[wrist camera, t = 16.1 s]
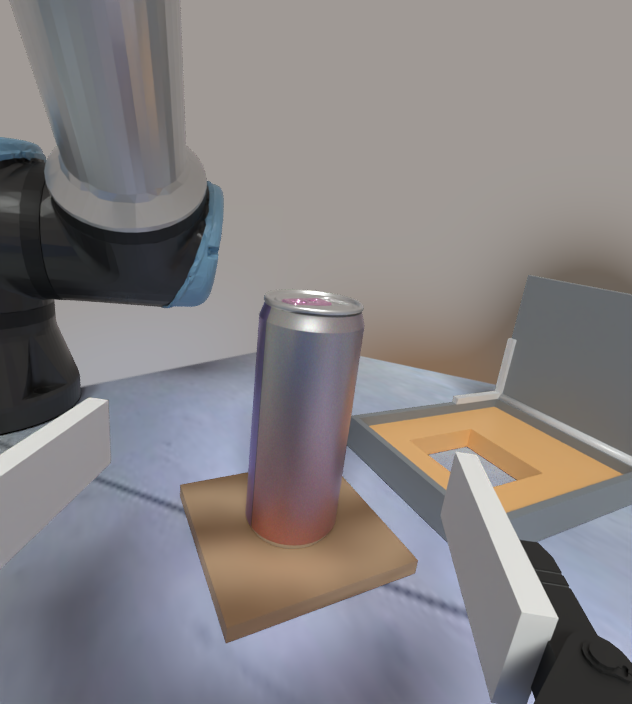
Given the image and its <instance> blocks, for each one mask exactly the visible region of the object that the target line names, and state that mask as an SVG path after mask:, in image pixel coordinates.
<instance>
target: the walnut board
mask: <svg viewBox="0 0 632 704" xmlns="http://www.w3.org/2000/svg"><path fill="white" fill-rule="evenodd" d="M247 484H248V473H242V474H237V475H231V476H226V477H220V478H215V479H210V480H204V481H199V482H193V483H188V484H183V485H180V498H181V501H182V504H183V507H184V510H185V514H186V517H187V520H188V523H189V527H190V530H191V533H192V536H193V539H194V543H195V546H196V549H197V552H198V555H199V559H200V562H201V565H202V568H203V571H204V575H205V578H206V581H207V584H208V587H209V591H210V594H211V597H212V600H213V603H214V607H215V610H216V613H217V616H218V620H219V623H220V626H221V629H222V632H223V636H224V639H225V642H226V643H228V642H231V641H234V640H236V639H239V638H242V637H245V636H247V635H250V634H253V633H255V632H258V631H261V630H263V629H266V628H269V627H271V626H274V625H277V624H280V623H282V622H285V621H288V620H290V619H293V618H296V617H298V616H301V615H304V614H306V613H309V612H312V611H315V610H317V609H320V608H323V607H325V606H328V605H331V604H333V603H336V602H339V601H342V600H344V599H347V598H350V597H352V596H355V595H358V594H360V593H363V592H366V591H368V590H371V589H374V588H377V587H379V586H382V585H385V584H387V583H390V582H393V581H395V580H398V579H401V578H403V577H406V576H409V575H412V574H414V573H415V571H416V567H417V563H418V560H417V559H416V558H415V556H414V555H413V554H412V553H411V552H410V551H409V550H408V549H407V548H406V547H405V545H404V544H403V543H402V542H401V541H400V540H399V539H398V538H397V537H396V535H395V534H394V533H393V532H392V531H391V530H390V529H389V528H388V527H387V525H386V524H385V523H384V522H383V521H382V520H381V519H380V518H379V517H378V515H377V514H376V513H375V512H374V511H373V510H372V509H371V508H370V507H369V505H368V504H367V503H366V502H365V501H364V500H363V499H362V498H361V497H360V495H359V494H358V493H357V492H356V491H355V490H354V489H353V488H352V487H351V485H350V484H349V483H348V482H347V481H346V480H345V479H344V478H343V477H342V480H341V487H340V494H339V500H338V507H337V514H336V520H335V524H334V526H333V528H332V529H331V531H330V532H329V533H328V534H327V535H326V536H325V537H324V538H323V539H322V540H320V541H319V542H317V543H315V544H313V545H311V546H308V547H304V548H298V549H287V548H281V547H277V546H274V545H271V544H269V543H267V542H265V541H264V540H262V539H261V538H260V537H259V536H258V535H257V534H256V533H255V532H254V531H253V529H252V528H251V526H250V524H249V523H248V521H247V518H246V498H247Z"/></svg>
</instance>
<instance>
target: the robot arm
mask: <svg viewBox="0 0 632 704" xmlns="http://www.w3.org/2000/svg"><path fill="white" fill-rule="evenodd" d="M9 1H10V4H11V8H12V11H13V14H14V17H15V20H16V23H17V26H18V29H19V32H20V35H21V38H22V41H23V44H24V47H25V50H26V53H27V56H28V59H29V62H30V65H31V68H32V71H33V74H34V77H35V80H36V83H37V86H38V89H39V92H40V95H41V98H42V101H43V104H44V107H45V110H46V113H47V116H48V119H49V122H50V125H51V128H52V131H53V134H54V137H55V140H56V143H57V146H56V147H55V148H54V149H53V150H52V152H51V153H50V155H49V156H48V159H47V161H46V157H45V155H44V154H43V151H42V149H41V148H40V147H39V146H38V145H36V144H34V143H31V142H27V141H23V140H17V139H11V138H3V137H0V434H2V433H7V432H11V431H16V430H20V429H23V428H27V427H30V426H33V425H36V424H39V423H42V422H45V421H47V420H49V419H52V418H54V417H56V416H58V415H60V414H62V413H63V412H65V411H67V410H68V409H70V408H71V407H72V406H73V405H74V404H75V403H76V402H77V401H78V400H79V398H80V395H81V387H80V374H79V371H78V368H77V366H76V364H75V362H74V360H73V357H72V355H71V353H70V351H69V349H68V347H67V345H66V342H65V340H64V338H63V336H62V334H61V332H60V330H59V327H58V325H57V322H56V316H55V304H54V299H58V300H78V301H91V302H105V303H118V304H131V305H144V306H158V307H162V308H170V307H173V306H187V307H188V306H189V307H190V306H191V307H192V306H198V305H200V304H202V303H204V302H205V301H206V300H207V298H208V297H209V295H210V292H211V289H212V286H213V283H214V278H215V273H216V268H217V262H218V250H219V245H220V241H221V234H222V223H223V208H224V198H223V192H222V190H221V188H220V187H219V186H217V185H215V184H212V183H211V182H209V181H207V178H206V174H205V170H204V167H203V165H202V163H201V161H200V159H199V158H198V157H197V155H196V154H195V153H194V152H193V151H192V150H191V149H190V148H189V147H188V146H186V131H185V106H184V81H183V57H182V35H181V34H182V33H181V7H180V0H9ZM110 463H111V450H110V426H109V401H108V400H104V399H97V398H91V397H89V398H87V399H86V400H84V401H83V402H81V403H80V404H78V405H77V406H75V407H73V408H72V409H70V410H69V411H67V412H66V413H64V414H63V415H61V416H60V417H58V418H56V419H55V420H53V421H52V422H50V423H49V424H47V425H46V426H44V427H42V428H41V429H39V430H38V431H36V432H35V433H33V434H32V435H30V436H29V437H27V438H25V439H24V440H22V441H21V442H19V443H18V444H16V445H15V446H13V447H11V448H10V449H8V450H7V451H5V452H4V453H2V454H1V455H0V569H1V568H2V567H3V566H4V565H6V564H7V563H8V562H9V561H10V560H11V559H12V558H13V557H14V556H15V555H16V554H17V553H18V552H19V551H20V550H21V549H22V548H23V547H24V546H25V545H26V544H27V543H28V542H29V541H30V540H31V539H32V538H34V537H35V536H36V535H37V534H38V533H39V532H40V531H41V530H42V529H43V528H44V527H45V526H46V525H47V524H48V523H49V522H50V521H51V520H52V519H53V518H54V517H55V516H56V515H57V514H58V513H59V512H61V511H62V510H63V509H64V508H65V507H66V506H67V505H68V504H69V503H70V502H71V501H72V500H73V499H74V498H75V497H76V496H77V495H78V494H79V493H80V492H81V491H82V490H83V489H84V488H85V487H86V486H87V485H89V484H90V483H91V482H92V481H93V480H94V479H95V478H96V477H97V476H98V475H99V474H100V473H101V472H102V471H103V470H104V469H105V468H106V467H107V466H108V465H109V464H110ZM440 516H441V519H442V523H443V527H444V530H445V534H446V538H447V541H448V545H449V549H450V552H451V556H452V560H453V563H454V567H455V571H456V574H457V578H458V582H459V586H460V589H461V593H462V597H463V600H464V604H465V608H466V611H467V615H468V619H469V622H470V626H471V630H472V633H473V637H474V641H475V644H476V648H477V652H478V655H479V659H480V663H481V666H482V670H483V674H484V677H485V681H486V685H487V688H488V692H489V696H490V699H491V702H492V703H497V704H527V702H528V699H529V696H530V694H531V691H532V692H533V695H534V698H535V702H534V704H632V663H631V662H630V660H629V659H628V658H627V657H626V656H625V655H624V654H623V652H622V651H620V650H619V649H618V648H617V647H615V646H614V645H613V644H612V643H610V642H609V641H607V640H605V639H603V638H601V637H599V636H598V635H597V634H596V632H595V630H594V628H593V627H592V625H591V623H590V621H589V620H588V618H587V616H586V614H585V613H584V611H583V609H582V607H581V606H580V604H579V602H578V600H577V599H576V597H575V595H574V593H573V592H572V590H571V589H569V585H568V583H567V581H566V580H565V578H564V576H562V575H561V571H560V569H559V567H558V566H557V564H556V562H555V560H554V559H553V557H552V556H551V555H550V554H549V553H548V552H547V551H546V550H545V549H544V548H543V547H542V546H541V545H540V544H539V543H538V542H531V541H525V540H519V538H518V536H517V534H516V532H515V530H514V528H513V526H512V524H511V522H510V520H509V518H508V516H507V514H506V512H505V510H504V508H503V506H502V504H501V502H500V500H499V498H498V496H497V494H496V492H495V490H494V488H493V486H492V484H491V482H490V480H489V478H488V476H487V474H486V472H485V470H484V468H483V466H482V464H481V462H480V460H479V458H478V456H477V455H473V454H467V453H460V452H455V456H454V460H453V464H452V468H451V473H450V477H449V481H448V485H447V489H446V493H445V498H444V502H443V506H442V510H441V514H440Z"/></svg>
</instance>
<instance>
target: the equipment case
mask: <svg viewBox="0 0 632 704" xmlns="http://www.w3.org/2000/svg"><path fill="white" fill-rule="evenodd" d="M347 445H348V446H349V447H350V448H351V449H352V450H353V451H354V452H355V453H356V454H357V455H358V456H359V457H360V458H361V459H362V460H363V461H364V462H365V463H366V464H367V465H368V466H369V467H370V468H371V469H372V470H373V471H374V472H375V473H376V474H378V475H379V476H380V477H381V478H382V479H383V480H384V481H385V482H386V483H387V484H388V485H389V486H390V487H391V488H392V489H393V490H394V491H395V492H396V493H397V494H398V495H399V496H400V497H401V498H402V499H403V500H404V501H405V502H406V503H407V504H408V505H409V506H410V507H412V508H413V509H414V510H415V511H416V512H417V513H418V514H419V515H420V516H421V517H422V518H423V519H424V520H425V521H426V522H427V523H428V524H429V525H430V526H431V527H432V528H433V529H434V530H435V531H436V532H437V533H438V534H439V535H440V536H441V537H442V538H443V539H445V540H446V541H447V538H446V534H445V530H444V527H443V523H442V519H441V516H440V514H441V510H442V506H443V502H444V498H445V493H446V489H447V485H448V481H449V477H450V473H451V472H449V471H448V470H447V469H446V468H444V467H443V466H442V465H440V464H439V463H438V462H436V461H435V460H434V459H433V458H431V457H430V456H429V455H428V454H433V453H438V452H442V451H447V450H452V449H457V448H462V447H468V448H470V449H471V450H473V451H474V452H476V453H477V454H479V455H480V456H482V457H483V458H485V459H486V460H488V461H489V462H491V463H492V464H494V465H495V466H497V467H498V468H500V469H501V470H503V471H504V472H506V473H507V474H509V475H510V476H512V477H513V478H515V479H516V480H517V481H514V482H510V483H507V484H503V485H499V486H496V487H493V488H494V490H495V492H496V494H497V496H498V498H499V500H500V502H501V504H502V506H503V508H504V510H505V512H506V514H507V516H508V518H509V520H510V522H511V524H512V526H513V528H514V530H515V532H516V534H517V536H518V538H519V540H525V541H531V542H538V541H540V540H543V539H545V538H548V537H550V536H553V535H555V534H558V533H560V532H563V531H565V530H568V529H571V528H573V527H576V526H578V525H581V524H583V523H586V522H588V521H591V520H593V519H596V518H598V517H601V516H603V515H606V514H609V513H611V512H614V511H616V510H619V509H621V508H624V507H626V506H629V505H631V504H632V294H627V293H621V292H616V291H611V290H605V289H600V288H595V287H589V286H584V285H579V284H574V283H568V282H564V281H558V280H553V279H548V278H542V277H537V276H528V278H527V282H526V286H525V290H524V293H523V297H522V301H521V305H520V309H519V312H518V316H517V320H516V324H515V328H514V332H513V335H512V338H509V339H508V342H507V345H506V349H505V353H504V357H503V361H502V365H501V369H500V373H499V376H498V380H497V384H496V388H495V391H489V392H481V393H473V394H465V395H457V396H453V400H452V402H449V403H442V404H435V405H427V406H420V407H412V408H405V409H398V410H390V411H383V412H376V413H368V414H361V415H353V416H351V420H350V426H349V433H348V440H347ZM447 542H448V541H447Z"/></svg>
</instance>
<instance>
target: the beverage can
mask: <svg viewBox="0 0 632 704" xmlns="http://www.w3.org/2000/svg"><path fill="white" fill-rule="evenodd" d="M264 300H265V302H264V305H263V307H262V309H261V312H260V314H259V328H258V342H257V356H256V370H255V384H254V399H253V413H252V427H251V441H250V455H249V470H248V484H247V498H246V518H247V521H248V523H249V524H250V526H251V528H252V529H253V531H254V532H255V533H256V534H257V535H258V536H259V537H260V538H261V539H262V540H264V541H265V542H267V543H269V544H271V545H274V546H277V547H281V548H287V549H298V548H304V547H308V546H311V545H313V544H315V543H317V542H319V541H320V540H322V539H323V538H324V537H325V536H326V535H327V534H328V533H329V532H330V531H331V529H332V528H333V526H334V524H335V520H336V514H337V507H338V500H339V494H340V487H341V480H342V474H343V467H344V460H345V453H346V447H347V440H348V433H349V426H350V420H351V413H352V406H353V399H354V393H355V386H356V379H357V372H358V366H359V359H360V352H361V345H362V339H363V332H364V321H363V316H362V311H363V309H364V306H363V304H362V303H361V302H360V301H358V300H355V299H353V298H350V297H346V296H343V295H338V294H333V293H327V292H320V291H311V290H297V289H284V290H274V291H269V292H267V293H266V294H265V295H264Z"/></svg>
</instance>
